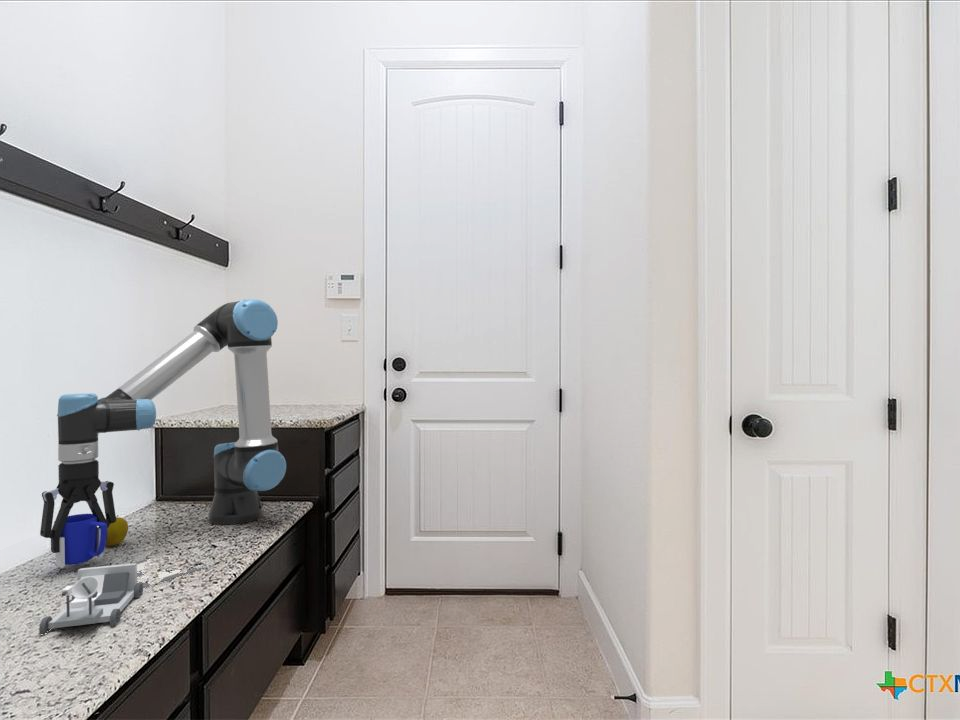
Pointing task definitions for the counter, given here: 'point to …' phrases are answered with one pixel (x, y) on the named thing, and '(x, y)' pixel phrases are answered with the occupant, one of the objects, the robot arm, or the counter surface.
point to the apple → (116, 532)
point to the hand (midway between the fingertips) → (80, 560)
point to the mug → (82, 538)
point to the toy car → (97, 597)
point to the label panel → (164, 574)
